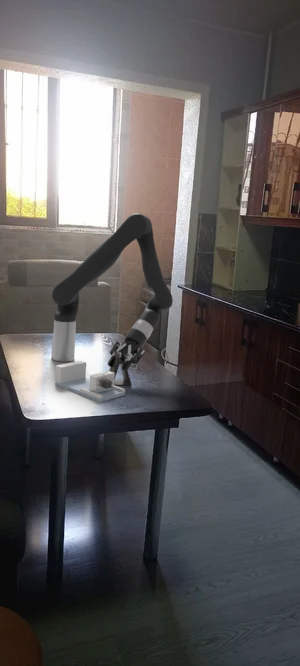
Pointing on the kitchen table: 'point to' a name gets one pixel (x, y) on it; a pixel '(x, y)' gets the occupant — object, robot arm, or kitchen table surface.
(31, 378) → the kitchen table surface
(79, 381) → the vise body
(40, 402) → the kitchen table surface
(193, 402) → the kitchen table surface
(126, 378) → the phone stand
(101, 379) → the block
